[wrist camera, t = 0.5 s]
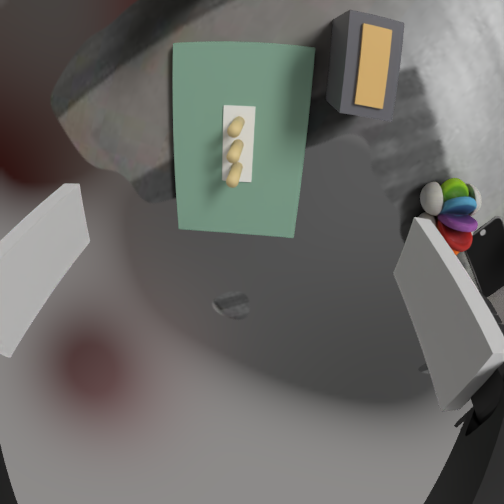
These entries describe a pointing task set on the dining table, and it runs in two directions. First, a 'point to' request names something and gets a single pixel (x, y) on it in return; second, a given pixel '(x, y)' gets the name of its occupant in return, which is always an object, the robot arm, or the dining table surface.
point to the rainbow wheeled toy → (452, 211)
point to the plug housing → (364, 65)
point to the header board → (240, 135)
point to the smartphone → (488, 256)
